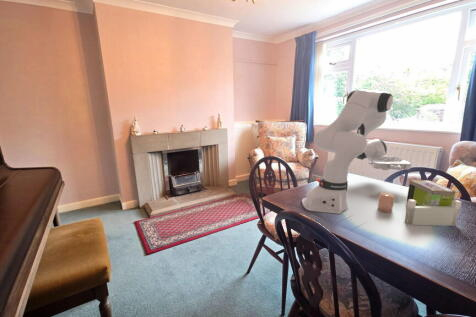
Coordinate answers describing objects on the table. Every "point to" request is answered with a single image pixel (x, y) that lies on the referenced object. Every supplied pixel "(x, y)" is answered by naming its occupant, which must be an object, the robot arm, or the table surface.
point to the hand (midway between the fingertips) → (398, 168)
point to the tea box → (429, 193)
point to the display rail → (432, 214)
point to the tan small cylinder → (385, 202)
